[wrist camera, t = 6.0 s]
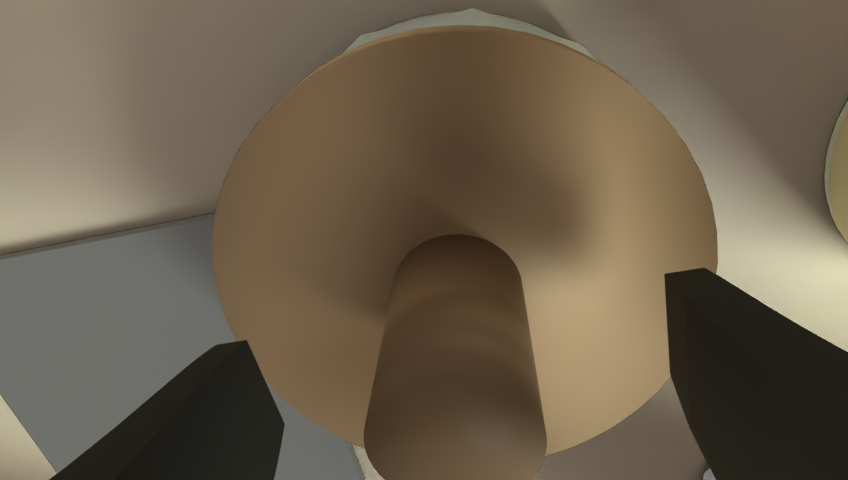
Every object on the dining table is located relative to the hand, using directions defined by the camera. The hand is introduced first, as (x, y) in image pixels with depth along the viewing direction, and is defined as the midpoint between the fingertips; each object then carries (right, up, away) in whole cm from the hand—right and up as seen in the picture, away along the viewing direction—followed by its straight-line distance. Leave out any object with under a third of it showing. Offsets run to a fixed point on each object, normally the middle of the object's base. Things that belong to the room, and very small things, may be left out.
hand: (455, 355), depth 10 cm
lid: (0, +1, +2) cm, 3 cm away
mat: (-9, -3, +10) cm, 14 cm away
